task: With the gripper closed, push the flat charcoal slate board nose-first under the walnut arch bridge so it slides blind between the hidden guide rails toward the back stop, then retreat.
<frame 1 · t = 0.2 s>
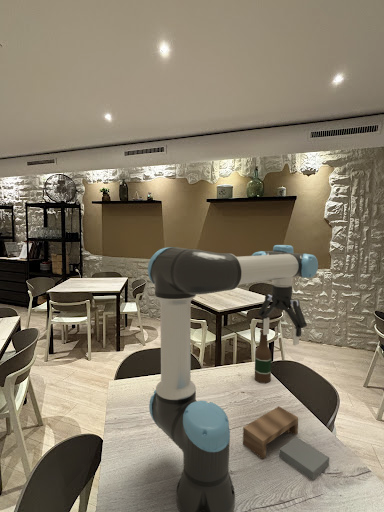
hand: (280, 339, 113), 28 cm above the table, fingers open, 13 cm apart
beer bottle: (262, 379, 137), on the table
pill bottle: (216, 446, 94), on the table
walnut arch bridge: (271, 438, 98), on the table
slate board: (303, 462, 88), on the table
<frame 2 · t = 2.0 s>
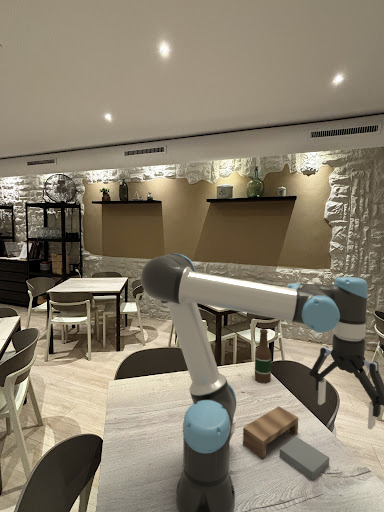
hand: (344, 414, 78), 21 cm above the table, fingers open, 12 cm apart
pill bottle: (216, 445, 94), on the table, touching arm
everything else where it was.
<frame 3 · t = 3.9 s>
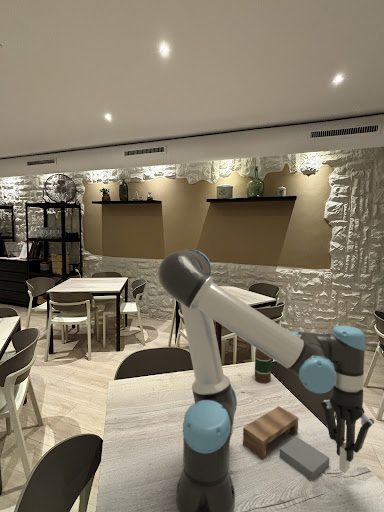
hand: (344, 468, 79), 5 cm above the table, fingers closed
nothing on the table moved.
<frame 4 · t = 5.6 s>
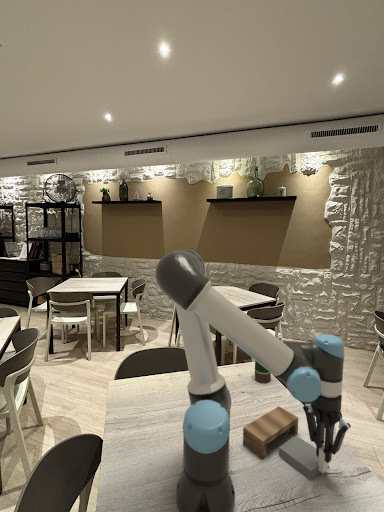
hand: (323, 469, 83), 1 cm above the table, fingers closed
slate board: (302, 461, 88), on the table, touching gripper
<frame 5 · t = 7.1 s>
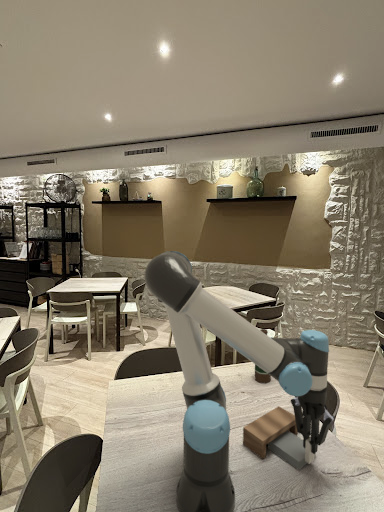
hand: (309, 460, 87), 1 cm above the table, fingers closed
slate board: (291, 453, 92), on the table
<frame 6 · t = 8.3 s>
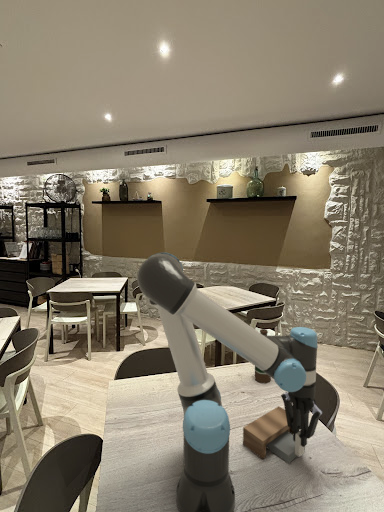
hand: (299, 453, 89), 1 cm above the table, fingers closed
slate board: (281, 447, 94), on the table
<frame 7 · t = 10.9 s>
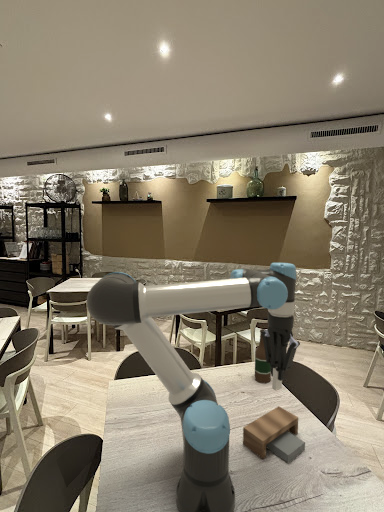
hand: (276, 388, 90), 21 cm above the table, fingers closed
pill bottle: (216, 446, 94), on the table
everything else where it was.
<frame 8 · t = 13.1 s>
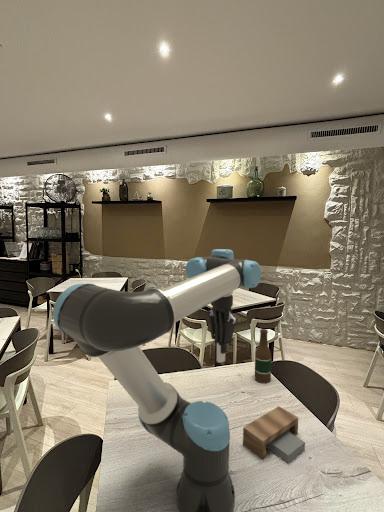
hand: (220, 361, 101), 24 cm above the table, fingers closed
nothing on the table moved.
at the end: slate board 0.1 cm from the target spot on the walnut arch bridge, point -0.5 cm above the walnut arch bridge's base; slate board tilted 0° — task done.
